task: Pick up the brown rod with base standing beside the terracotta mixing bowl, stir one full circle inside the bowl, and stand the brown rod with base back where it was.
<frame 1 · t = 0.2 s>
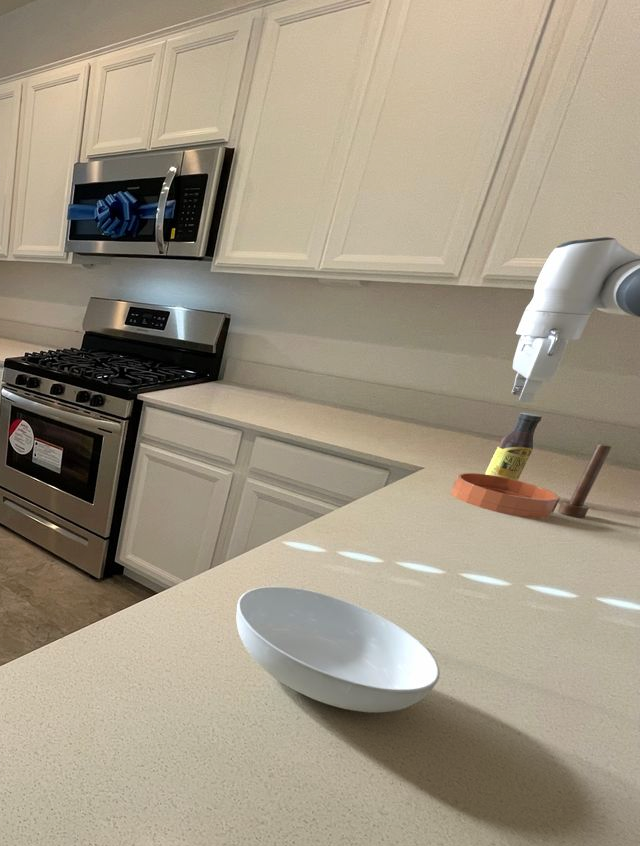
hand: (520, 398, 117), 28 cm above the counter, tool pointing down, fingers open, 8 cm apart
sauce bottle: (496, 488, 152), on the counter
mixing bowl: (496, 509, 136), on the counter
serving bowl: (315, 677, 74), on the counter
brown rod with base: (570, 514, 136), on the counter
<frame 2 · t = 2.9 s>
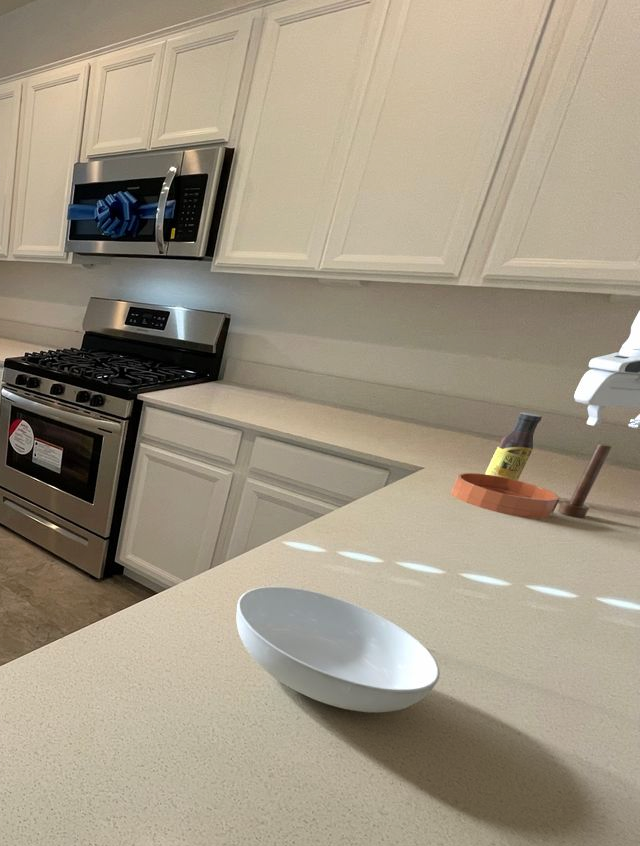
hand: (614, 426, 129), 21 cm above the counter, tool pointing down, fingers open, 8 cm apart
nothing on the counter moved.
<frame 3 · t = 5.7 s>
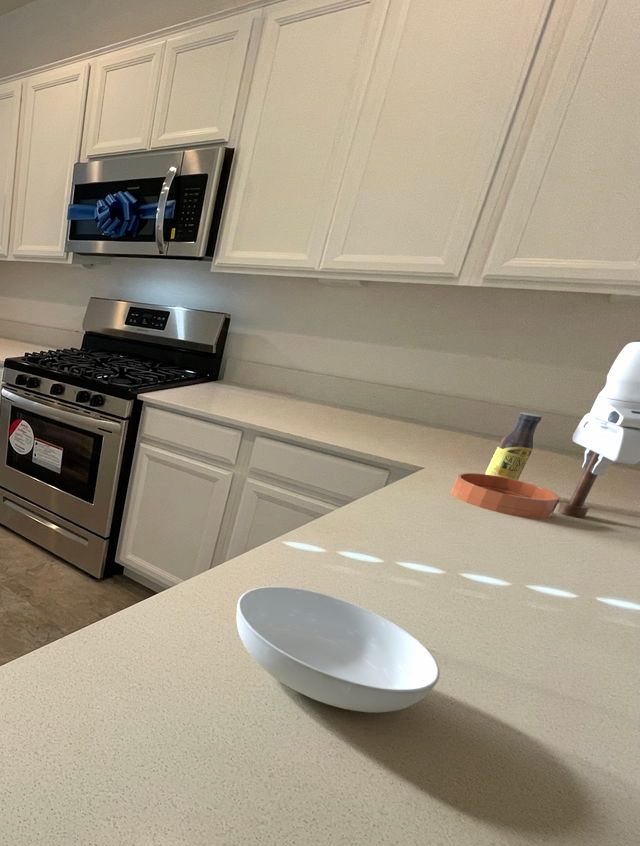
hand: (591, 471, 133), 11 cm above the counter, tool pointing down, fingers closed on brown rod with base, 2 cm apart
brown rod with base: (570, 514, 136), on the counter, touching gripper
everything else where it was.
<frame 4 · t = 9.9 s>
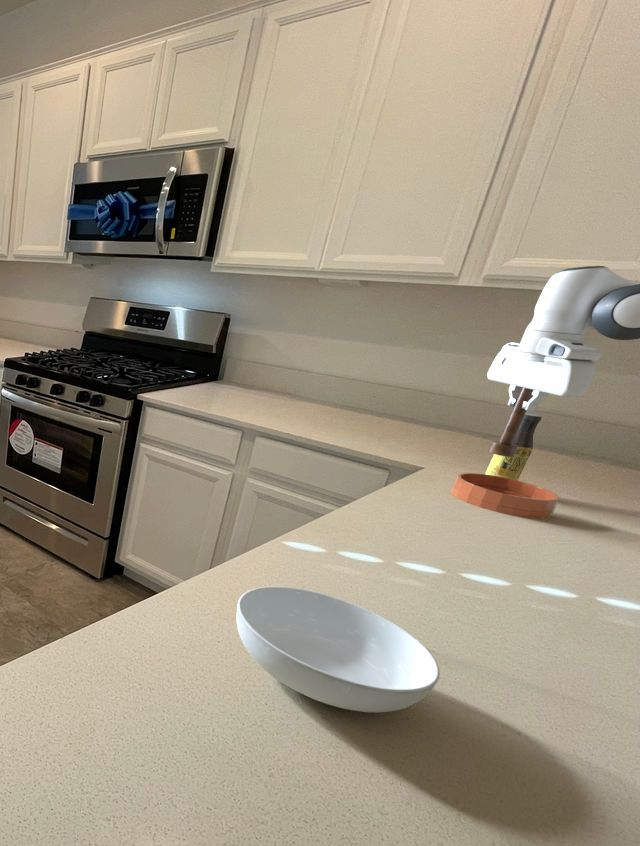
hand: (520, 408, 130), 24 cm above the counter, tool pointing down, fingers closed on brown rod with base, 2 cm apart
brown rod with base: (500, 453, 133), point 13 cm above the counter, touching gripper
everything else where it was.
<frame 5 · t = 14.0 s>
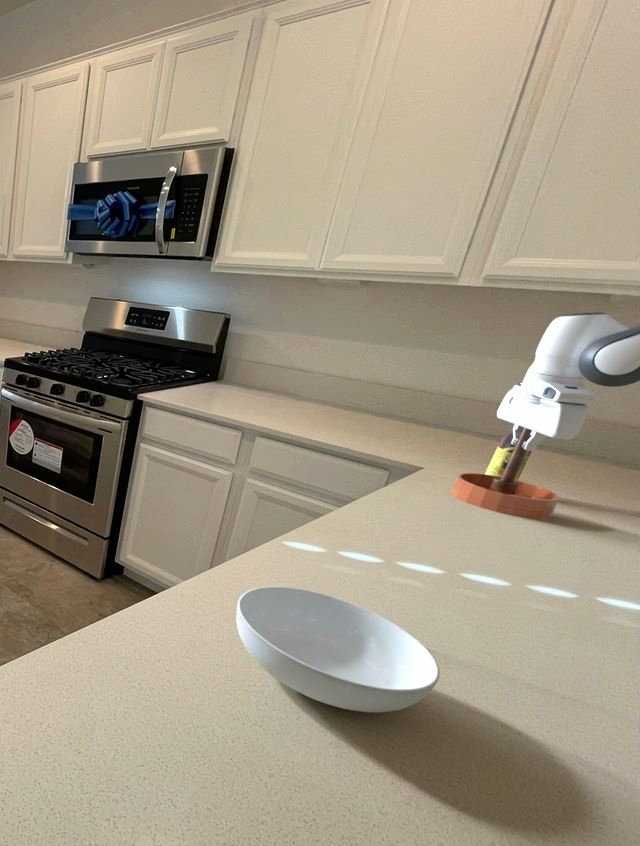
hand: (522, 447, 133), 15 cm above the counter, tool pointing down, fingers closed on brown rod with base, 2 cm apart
brown rod with base: (502, 490, 136), point 4 cm above the counter, touching gripper
everything else where it was.
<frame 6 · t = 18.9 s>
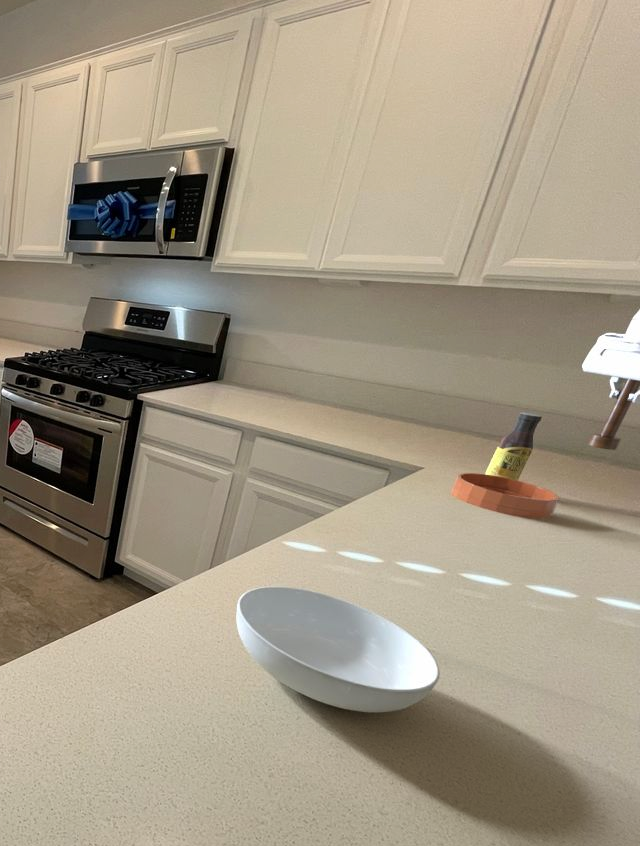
hand: (625, 400, 127), 27 cm above the counter, tool pointing down, fingers closed on brown rod with base, 2 cm apart
brown rod with base: (601, 446, 131), point 17 cm above the counter, touching gripper
everything else where it was.
when the fingers open (10 cm above the counter, at t = 22.6 s): brown rod with base stays where it is, on the counter.
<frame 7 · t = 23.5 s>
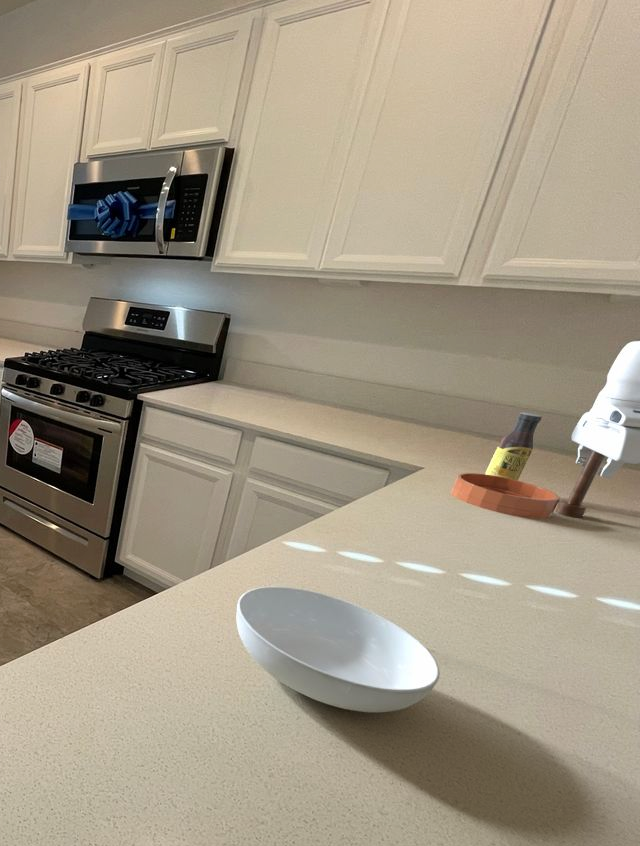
hand: (592, 471, 133), 11 cm above the counter, tool pointing down, fingers open, 8 cm apart
brown rod with base: (568, 513, 136), on the counter
everything else where it was.
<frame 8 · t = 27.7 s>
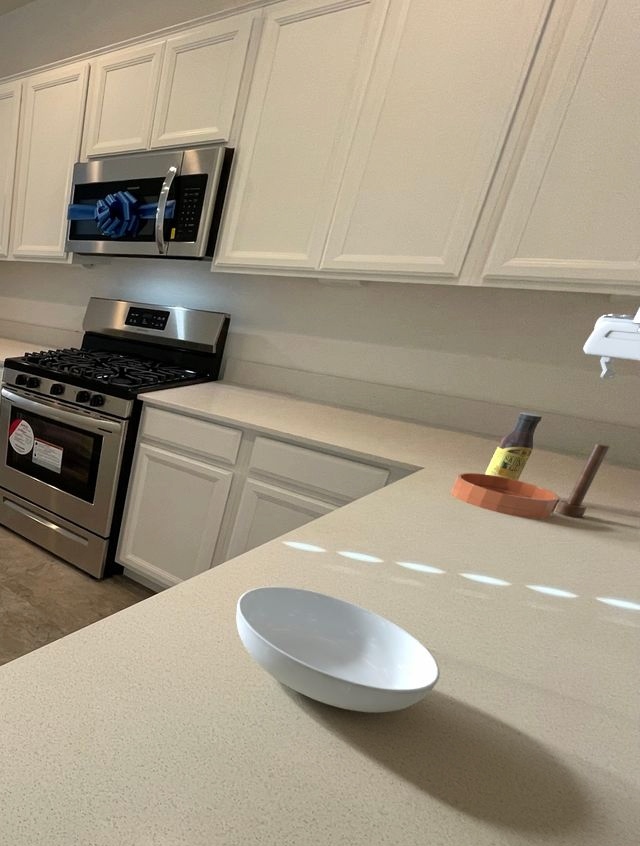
hand: (635, 382, 126), 31 cm above the counter, tool pointing down, fingers open, 8 cm apart
nothing on the counter moved.
at the end: brown rod with base inside the target area (0.4 cm from its centre), on the counter; brown rod with base tilted 0°; the gripper is holding nothing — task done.
